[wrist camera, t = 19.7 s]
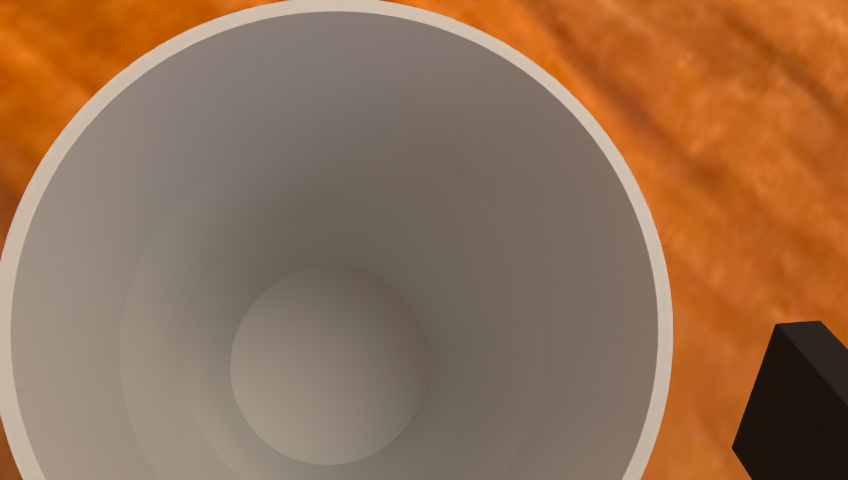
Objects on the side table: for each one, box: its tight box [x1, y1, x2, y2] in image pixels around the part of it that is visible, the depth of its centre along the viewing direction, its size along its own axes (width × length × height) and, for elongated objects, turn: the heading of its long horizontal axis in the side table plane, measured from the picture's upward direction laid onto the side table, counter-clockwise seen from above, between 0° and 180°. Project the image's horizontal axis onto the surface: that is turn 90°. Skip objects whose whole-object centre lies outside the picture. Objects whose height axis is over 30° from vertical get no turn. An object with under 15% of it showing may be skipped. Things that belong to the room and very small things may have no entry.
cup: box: [0, 0, 673, 480], centre depth 14 cm, size 8×8×10 cm
